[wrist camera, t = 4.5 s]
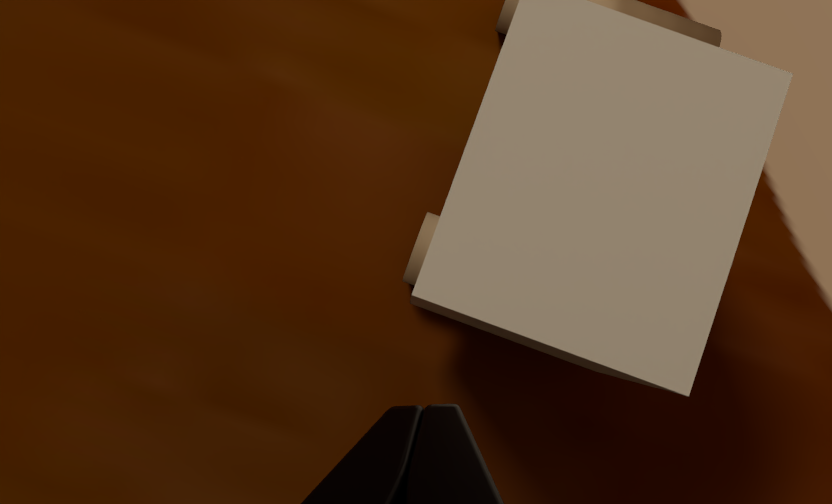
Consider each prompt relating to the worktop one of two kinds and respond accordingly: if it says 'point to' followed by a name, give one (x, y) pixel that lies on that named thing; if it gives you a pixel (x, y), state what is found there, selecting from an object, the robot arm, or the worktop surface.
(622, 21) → the slab
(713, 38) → the cylinder
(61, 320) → the worktop surface
